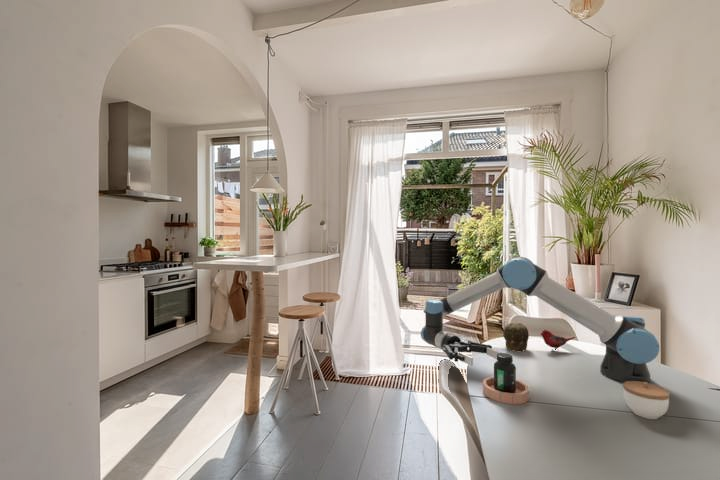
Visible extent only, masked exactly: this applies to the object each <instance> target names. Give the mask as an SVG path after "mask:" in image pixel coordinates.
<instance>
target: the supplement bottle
mask: <svg viewBox="0 0 720 480" xmlns="http://www.w3.org/2000/svg"><path fill="white" fill-rule="evenodd" d="M513 362H514V360H513V355H512V354H509V353H507V352H502V353H498V354H497V359H496V361H495V362H494V364H493V377H494V389H495V390H498V391H500V392H506V393H515V392H516V380H517V367H516V365H515V364H514V363H513Z"/></svg>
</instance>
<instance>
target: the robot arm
mask: <svg viewBox="0 0 720 480" xmlns="http://www.w3.org/2000/svg"><path fill="white" fill-rule="evenodd" d="M505 288H506V289H511V288H512V289H515V290H518V291H520V292H521V293H523V294H524V295H526V296H528V297H537V298H538V299H540V300H542V301H543V302H545V303H547V304H548V305H549V306H551V307H552V308H554V309H556V310H557V311H559V312H561V313H562V314H564V315H565V316H567V317H569V318H570V319H572V320H573V321H575V322H577V323H578V324H580V325H581V326H583V327H585V328H586V329H588V330H589V331H591V332H593V333H594V334H596V335H598V337H599V341H600V342H601V343H602V344H604V345H605V354H604V357H603V359H602V361H601V363H600V368H599V369H600V370H599V372H600V373H601V374H602V375H603V376H605V377H607V378H609V379H611V380H615V381H619V382H621V383H622V382H623V383H624V382H626V381H640V382H647V383H650V382H651V373H650V370H649V367H648V365H647V364H648V363H651V362H653V361H654V360H655V359H656V358H657V357H658V355H659V353H660V344H659V341H658V339H657V338H656V336H655V335H654V334H653V333H652V332H651V331H648V330H647V329H646V327H645V326H646V321H645V319H644V318H643V317H641V316H633V315H623V314H621V315H620V314H612V313H609V312H608V311H606V310H605V309H602V308H601V307H599V306H598V305H596V304H594V303H593V302H591V301H589V300H588V299H586V298H584V297H582V296H581V295H579V294H577V293H576V292H574V291H573V290H571V289H569V288H567V287H565V286H564V285H562V284H560V283H559V282H557V281H556V280H554V279H553V278H551V277H549V274H548V271H547V270H545V269H544V268H542V267H540V266H538V265H537V264H535V263H534V262H533V261H531V260H530V259H529V258H527V257H523V256H515V257H513V258H511V259H509V260H508V261H506V263H504V264H503V265H502V266H499V267H498V268H496V271H495V272H494V273H491V274H489V275H487V276H485V277H483V278H482V279H479V280H477V281H475V282H473V283H471V284H469V285H467V286H465V287H463V288H461V289H459V290H457V291H456V292H453V293H451V294H449V295H447V296H446V297H444V298H443V297H442V298H441V299H428V300H426V301H425V307H424V309H425V314H424V315H425V317H424V318H425V325H424V326H422V329H421V331H420V338H421V339H422V341H424V342H426V344H428V345H430V346H431V345H432V346H434V347H436V348H437V349H440V350H442V352H444V353H445V355H446V356H447V357H448V359H449V360H454V362H459V361H461V362H462V363H465V364H467V365H468V366H474V357H472V356H470V355H468V354H465V353H473V352H474V353H481V354H486V356H489V357H492V358H494V359H496V360H497V354H498V353H503V352H501V351H499V350H496V349H493V347H492V345H491V344H483V343H479V342H476V341H475V342H474V341H471V340H467V342H465V341H462V340H461V339H460V337H459V336H458V335H455V334H453V333H451V332H447V331H445V330H443V329H444V327H443V326H444V318H445V317H446V316H448V315H450V314H452V313H454V312H456V311H458V310H460V309H462V308H464V307H466V306H469V305H470V304H473V303H476V302H478V301H480V300H482V299H484V298H486V297H487V296H490V295H492V294H495V293H496V292H499V291H501V290H503V289H505Z"/></svg>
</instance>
